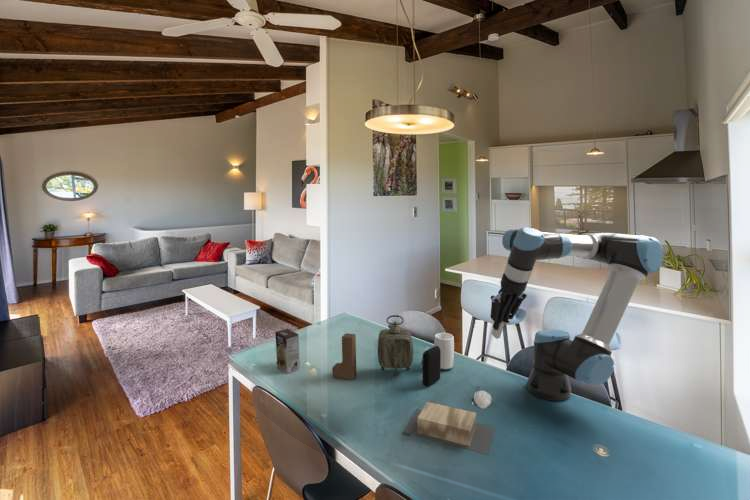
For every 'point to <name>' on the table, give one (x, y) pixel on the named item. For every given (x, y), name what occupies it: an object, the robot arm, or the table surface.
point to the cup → (445, 349)
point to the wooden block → (346, 359)
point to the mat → (478, 442)
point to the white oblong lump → (482, 399)
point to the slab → (447, 423)
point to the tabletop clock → (395, 347)
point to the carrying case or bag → (431, 365)
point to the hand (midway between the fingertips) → (495, 335)
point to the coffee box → (287, 350)
